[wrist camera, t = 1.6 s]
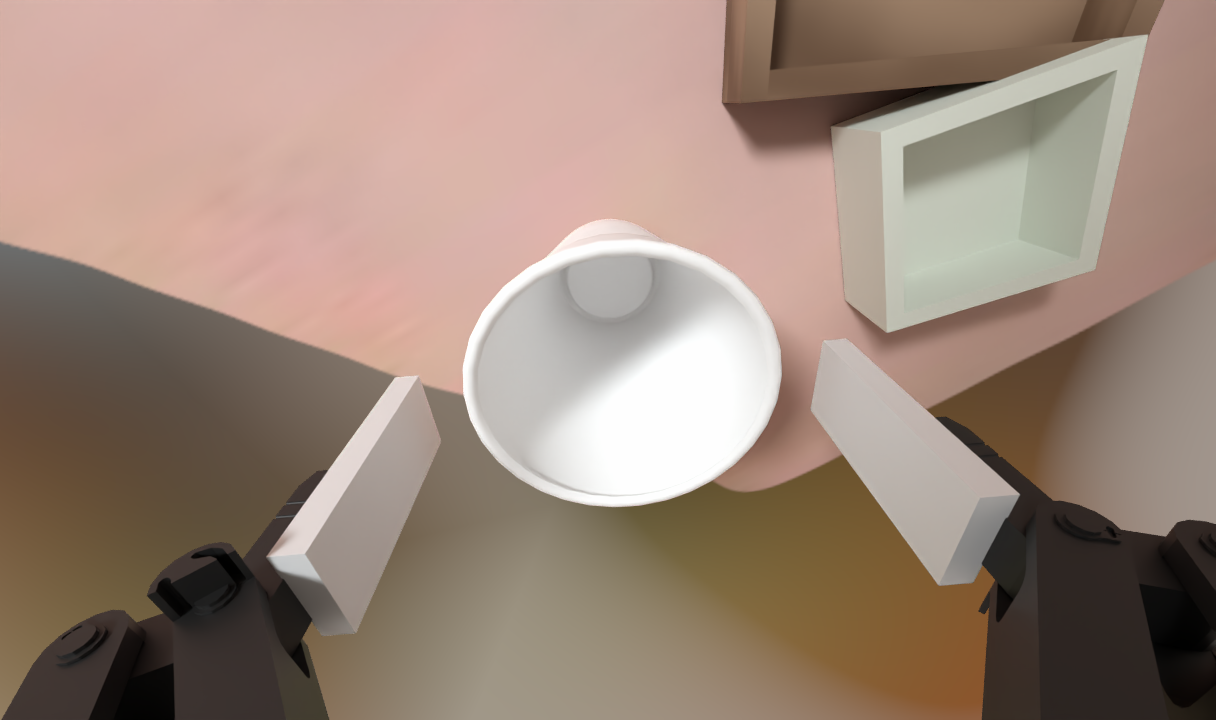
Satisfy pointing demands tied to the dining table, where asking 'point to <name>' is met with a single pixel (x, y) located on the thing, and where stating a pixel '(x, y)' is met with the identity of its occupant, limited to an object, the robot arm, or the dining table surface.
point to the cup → (621, 369)
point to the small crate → (982, 185)
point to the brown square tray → (907, 42)
